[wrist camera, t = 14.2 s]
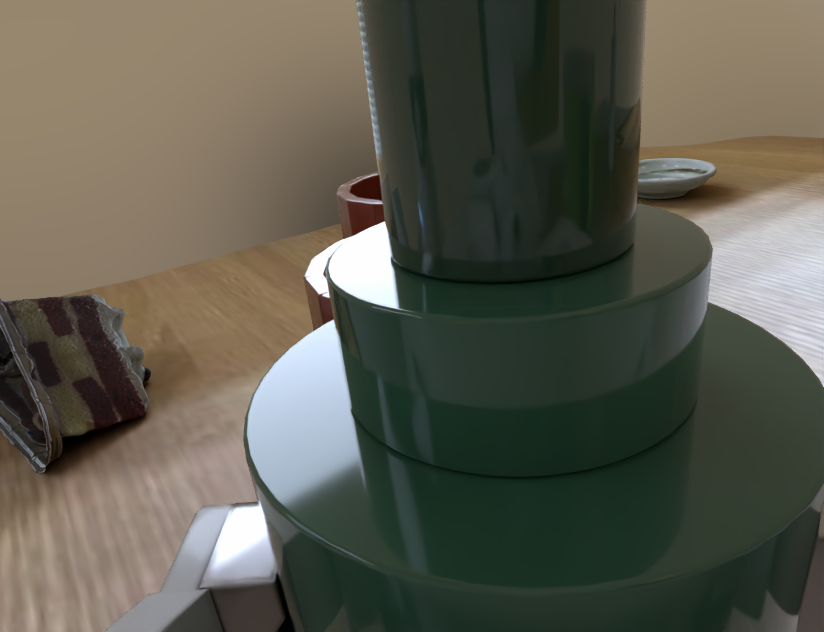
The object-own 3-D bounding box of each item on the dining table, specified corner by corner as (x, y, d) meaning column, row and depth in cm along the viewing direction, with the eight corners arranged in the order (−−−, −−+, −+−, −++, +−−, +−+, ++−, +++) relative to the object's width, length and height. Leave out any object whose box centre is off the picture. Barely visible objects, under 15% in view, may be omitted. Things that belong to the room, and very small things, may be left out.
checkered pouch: (204, 419, 30) (131, 230, 34) (48, 457, 25) (-18, 228, 29) (143, 485, 36) (87, 317, 40) (7, 527, 31) (-44, 330, 34)
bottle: (474, 1282, 8) (-308, -1593, 1) (340, 803, 14) (74, -157, 6) (799, 996, 10) (1365, -600, 3) (570, 678, 16) (569, -158, 8)
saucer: (588, 192, 62) (588, 168, 60) (665, 176, 64) (666, 154, 63) (652, 211, 53) (654, 184, 52) (738, 192, 56) (741, 166, 55)
